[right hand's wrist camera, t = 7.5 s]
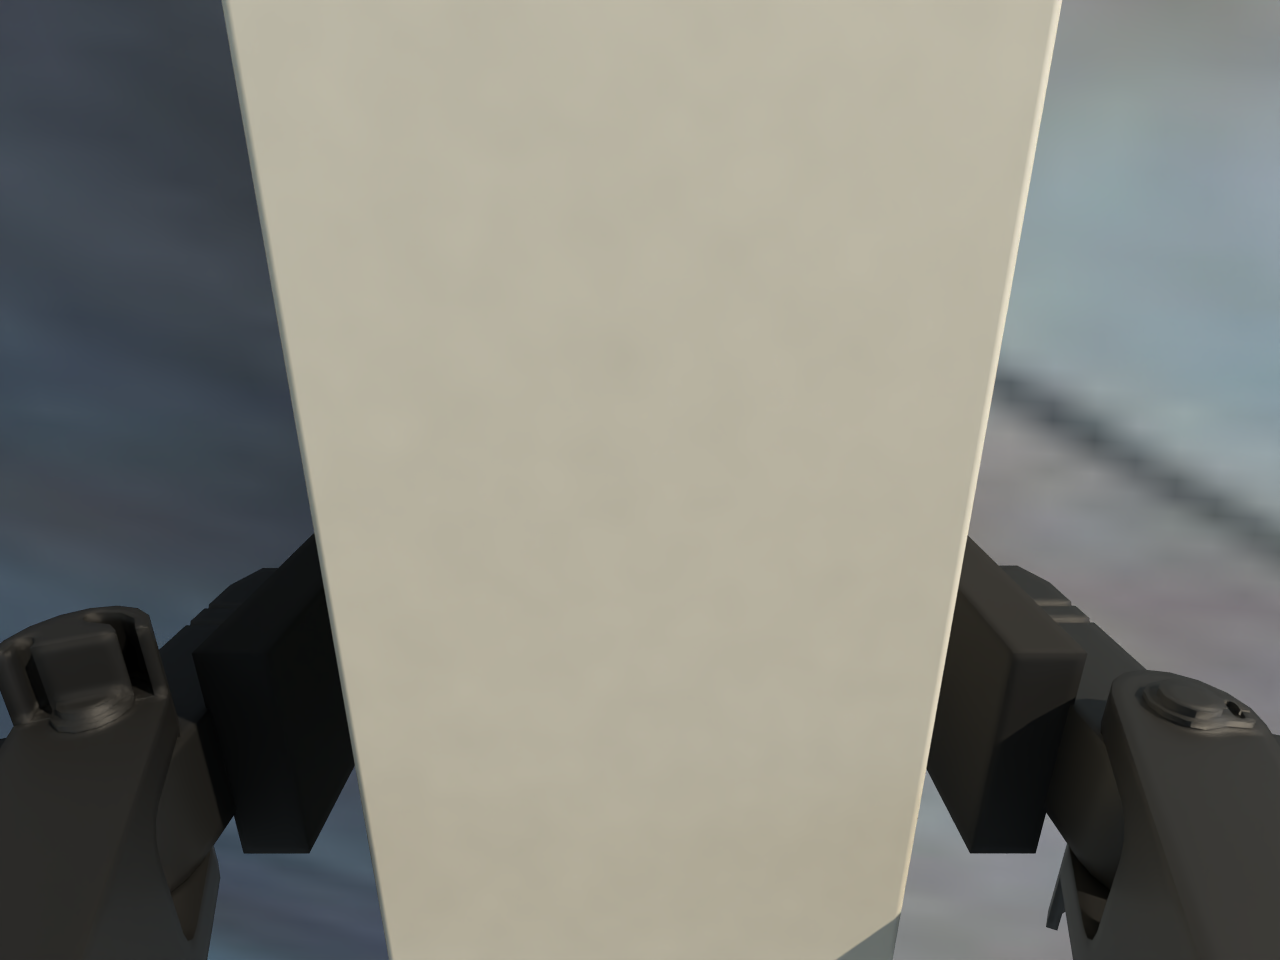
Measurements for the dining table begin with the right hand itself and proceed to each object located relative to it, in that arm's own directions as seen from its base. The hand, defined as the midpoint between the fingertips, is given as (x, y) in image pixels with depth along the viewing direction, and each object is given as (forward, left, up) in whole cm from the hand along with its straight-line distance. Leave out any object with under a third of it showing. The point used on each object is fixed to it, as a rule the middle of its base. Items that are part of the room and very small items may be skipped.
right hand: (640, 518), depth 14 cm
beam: (+11, 0, 0) cm, 11 cm away
